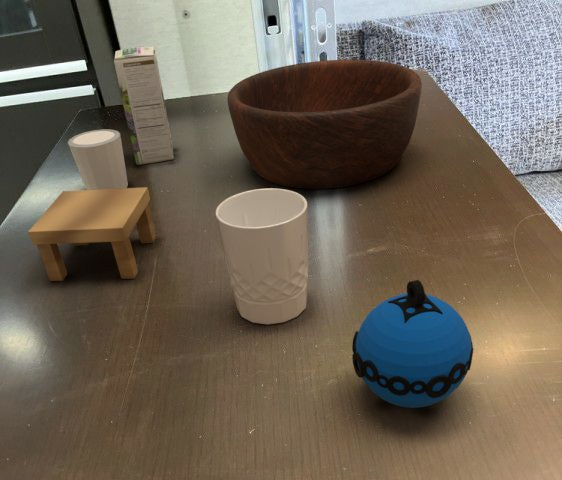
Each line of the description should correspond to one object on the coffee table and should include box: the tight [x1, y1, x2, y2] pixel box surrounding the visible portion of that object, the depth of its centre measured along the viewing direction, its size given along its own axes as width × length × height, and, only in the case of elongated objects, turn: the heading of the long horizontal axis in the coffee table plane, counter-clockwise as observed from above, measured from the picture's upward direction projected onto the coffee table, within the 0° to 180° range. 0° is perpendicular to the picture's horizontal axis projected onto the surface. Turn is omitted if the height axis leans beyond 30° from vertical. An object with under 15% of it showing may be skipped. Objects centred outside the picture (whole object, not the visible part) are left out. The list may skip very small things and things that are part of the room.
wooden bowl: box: [227, 59, 423, 190], centre depth 83 cm, size 25×25×10 cm
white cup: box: [215, 187, 309, 325], centre depth 56 cm, size 8×8×10 cm
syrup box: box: [113, 46, 175, 166], centre depth 90 cm, size 6×6×14 cm
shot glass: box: [67, 128, 129, 190], centre depth 84 cm, size 7×7×7 cm
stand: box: [27, 186, 157, 282], centre depth 68 cm, size 10×10×6 cm
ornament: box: [351, 279, 474, 409], centre depth 45 cm, size 9×9×10 cm
